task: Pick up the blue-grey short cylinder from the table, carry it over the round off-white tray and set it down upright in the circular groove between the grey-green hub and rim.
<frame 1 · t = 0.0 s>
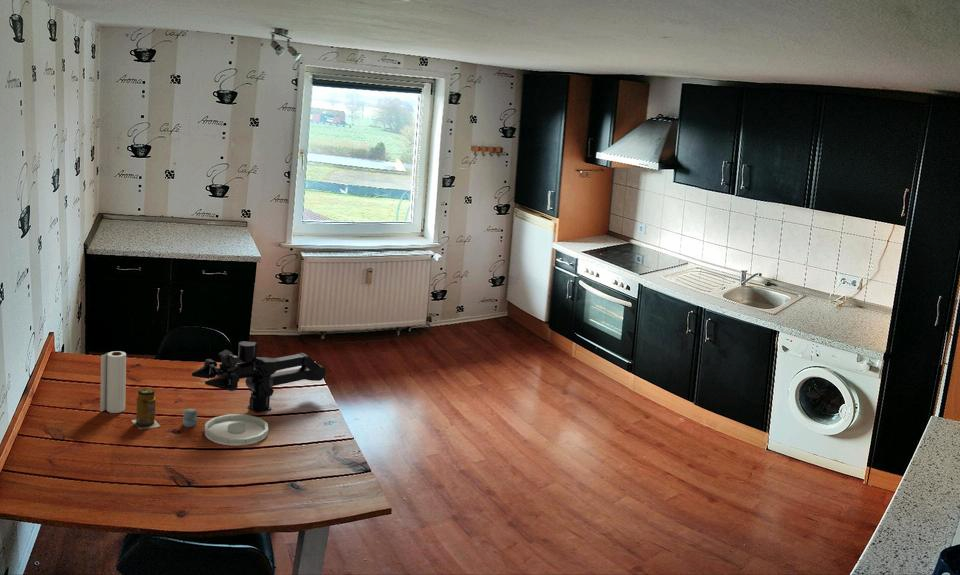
hand: (198, 378, 290), 17 cm above the table, tool horizontal, fingers open, 9 cm apart
condiment: (145, 424, 288), on the table
paper towel roll: (114, 410, 296), on the table
blue-grey short cylinder: (189, 424, 292), on the table
tray: (236, 432, 290), on the table
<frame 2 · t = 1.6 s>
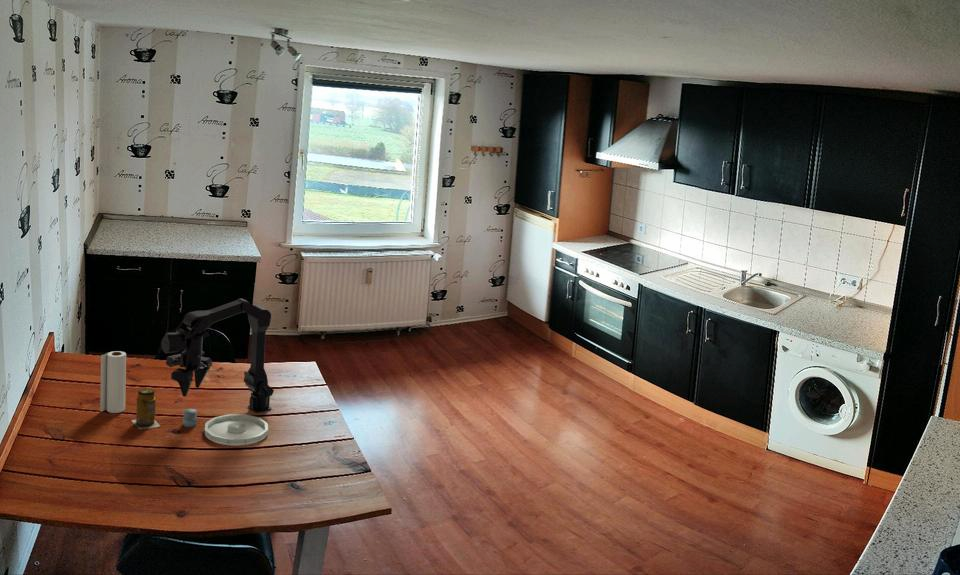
hand: (191, 391, 289), 12 cm above the table, tool pointing down, fingers open, 9 cm apart
nothing on the table moved.
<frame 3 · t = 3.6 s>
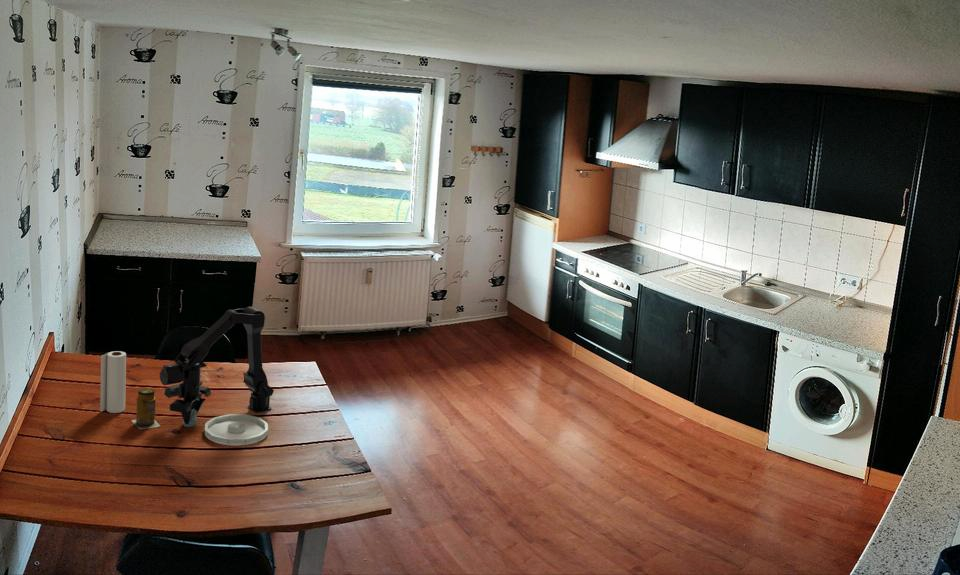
hand: (189, 421, 291), 1 cm above the table, tool pointing down, fingers closed on blue-grey short cylinder, 4 cm apart
blue-grey short cylinder: (189, 424, 292), on the table, touching gripper
everything else where it was.
when the fingers open (3 cm above the table, at t = 8.3 s): blue-grey short cylinder stays where it is, resting on tray.
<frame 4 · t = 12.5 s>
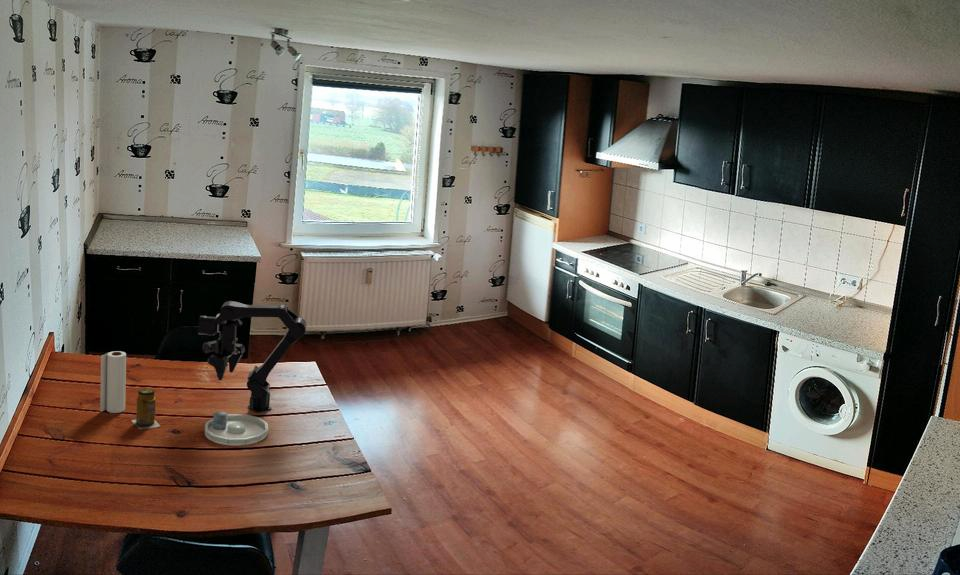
hand: (225, 376, 307), 12 cm above the table, tool pointing down, fingers open, 9 cm apart
blue-grey short cylinder: (219, 427, 290), point 1 cm above the table, touching tray
everything else where it was.
at the end: blue-grey short cylinder 0.2 cm from the target spot on the tray, point 0.8 cm above the tray's base; blue-grey short cylinder tilted 0°; the gripper is holding nothing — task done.
